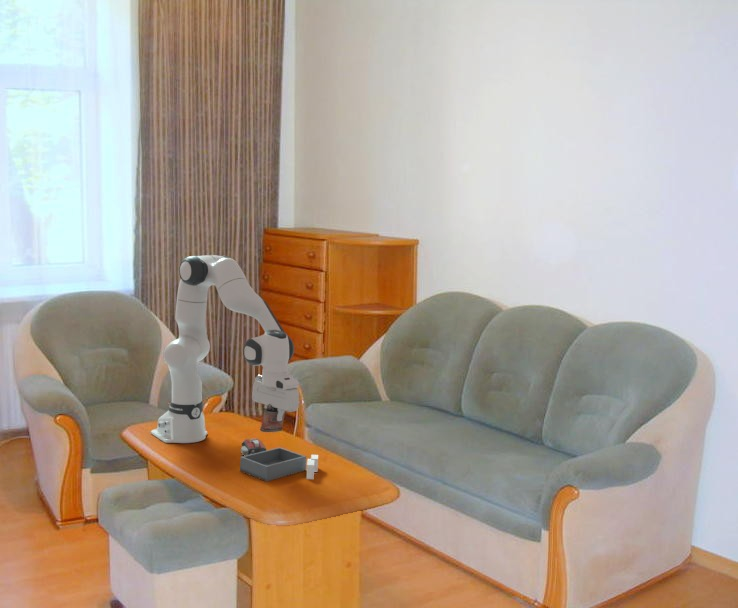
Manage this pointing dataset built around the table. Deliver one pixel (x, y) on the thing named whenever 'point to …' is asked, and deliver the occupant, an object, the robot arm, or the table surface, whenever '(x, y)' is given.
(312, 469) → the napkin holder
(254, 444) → the walkie-talkie
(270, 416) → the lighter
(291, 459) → the grey tray
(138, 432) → the table surface
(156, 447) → the table surface
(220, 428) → the table surface
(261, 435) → the table surface
